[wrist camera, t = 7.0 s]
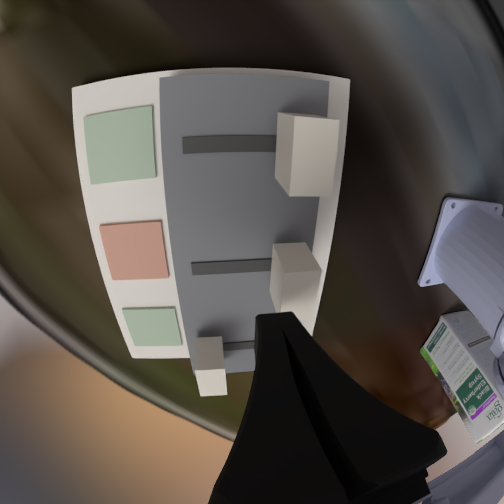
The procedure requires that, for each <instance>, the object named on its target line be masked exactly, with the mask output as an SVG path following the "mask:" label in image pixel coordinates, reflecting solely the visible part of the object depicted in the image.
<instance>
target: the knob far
mask: <svg viewBox="0 0 504 504" xmlns="http://www.w3.org/2000/svg"><path fill="white" fill-rule="evenodd" d="M195 374H196V378H197V383H198V387H199V391H200V396H215V395H227V387H226V376H225V365H224V354H223V343H222V336H219V337H200V338H195Z"/></svg>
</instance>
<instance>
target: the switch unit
mask: <svg viewBox="0 0 504 504" xmlns="http://www.w3.org/2000/svg"><path fill="white" fill-rule="evenodd" d="M349 91H350V79H346V78H340V77H334V76H328V75H322V74H315V73H307V72H298V71H288V70H276V69H260V68H198V69H182V70H170V71H160V72H152V73H144V74H137V75H131V76H125V77H119V78H114V79H109V80H104V81H99V82H95V83H90V84H86V85H82V86H78V87H74V88H72V105H73V122H74V134H75V144H76V153H77V161H78V168H79V175H80V181H81V187H82V193H83V198H84V203H85V208H86V213H87V218H88V222H89V227H90V231H91V235H92V239H93V243H94V247H95V251H96V255H97V259H98V262H99V266H100V269H101V273H102V276H103V279H104V282H105V286H106V289H107V292H108V295H109V298H110V301H111V304H112V307H113V310H114V312H115V315H116V318H117V321H118V323H119V326H120V329H121V331H122V334H123V336H124V339H125V341H126V344H127V346H128V349H129V351H130V353H131V356H132V358H190V360H191V365H192V369H193V373H194V375H196V374H195V338H200V337H219V336H222V343H223V354H224V365H225V373H233V372H245V371H255V353H254V338H255V317H256V316H257V315H258V314H267V313H276V311H275V307H274V304H273V301H272V298H271V294H270V278H271V264H272V250H273V244H279V243H301V242H306V244H307V246H308V247H309V249H310V251H311V252H312V254H313V256H314V257H315V259H316V261H317V262H318V264H319V266H320V267H321V269H322V274H321V279H320V285H319V290H318V295H317V299H316V304H315V309H314V314H313V318H312V319H311V320H302V321H300V322H301V323H302V325H303V326H304V327H305V329H306V330H307V331H308V332H309V334H310V335H311V336H312V333H313V329H314V325H315V321H316V316H317V312H318V308H319V303H320V298H321V294H322V289H323V284H324V279H325V274H326V269H327V264H328V259H329V253H330V248H331V242H332V237H333V231H334V225H335V218H336V212H337V205H338V198H339V191H340V184H341V176H342V168H343V160H344V151H345V141H346V131H347V119H348V106H349ZM278 112H284V113H299V114H311V115H318V116H323V117H327V118H332V119H336V120H340V124H339V136H338V146H337V156H336V165H335V174H334V182H333V190H332V197H317V196H289V195H288V194H287V193H286V191H285V190H284V189H283V188H282V186H281V185H280V184H279V182H278V181H277V180H276V179H275V161H276V140H277V117H278Z"/></svg>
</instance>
